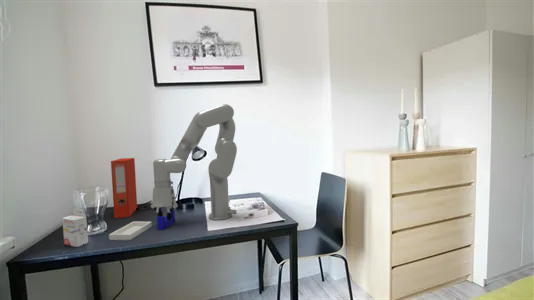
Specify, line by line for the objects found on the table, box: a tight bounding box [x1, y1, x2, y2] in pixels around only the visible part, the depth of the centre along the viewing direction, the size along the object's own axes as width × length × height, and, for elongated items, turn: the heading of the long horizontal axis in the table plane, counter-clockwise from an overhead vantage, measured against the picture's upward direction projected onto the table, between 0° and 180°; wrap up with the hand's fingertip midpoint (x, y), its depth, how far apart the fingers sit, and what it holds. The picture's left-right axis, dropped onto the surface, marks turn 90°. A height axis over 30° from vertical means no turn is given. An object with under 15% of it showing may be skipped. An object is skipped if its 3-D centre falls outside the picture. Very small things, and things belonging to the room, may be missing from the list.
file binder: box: [110, 157, 138, 219], centre depth 156 cm, size 8×17×32 cm, turn 13°
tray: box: [108, 221, 153, 241], centre depth 124 cm, size 10×17×2 cm, turn 173°
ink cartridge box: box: [61, 207, 89, 248], centre depth 113 cm, size 9×5×15 cm, turn 70°
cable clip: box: [156, 209, 176, 231], centre depth 133 cm, size 12×4×6 cm, turn 173°
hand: (165, 219), depth 133 cm, fingers closed on cable clip, 4 cm apart
